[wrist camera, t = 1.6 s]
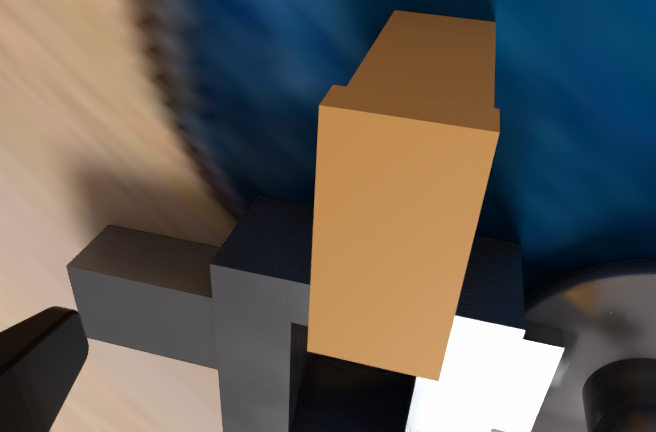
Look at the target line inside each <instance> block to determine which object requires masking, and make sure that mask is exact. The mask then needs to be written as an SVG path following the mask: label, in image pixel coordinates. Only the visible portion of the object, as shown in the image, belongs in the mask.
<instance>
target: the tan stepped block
mask: <svg viewBox="0 0 656 432" xmlns="http://www.w3.org/2000/svg"><path fill="white" fill-rule="evenodd" d="M495 31H496V22H491V21H482V20H474V19H465V18H457V17H449V16H440V15H432V14H423V13H415V12H407V11H398V10H395V11H394V12H393V14H392V15H391V17H390V18H389V20H388V22H387V23H386V25H385V26H384V28H383V30H382V31H381V33H380V34H379V36H378V37H377V39H376V41H375V42H374V44H373V45H372V47H371V49H370V50H369V52H368V53H367V55H366V56H365V58H364V60H363V61H362V63H361V64H360V66H359V68H358V69H357V71H356V72H355V74H354V75H353V77H352V79H351V80H350V82H349V83H348V85H347V86H346V87H345V86H338V85H333V86H332V87H331V89H330V90H329V91H328V93H327V94H326V96H325V97H324V99H323V100H322V102H321V103H320V104H319V118H318V138H317V159H316V179H315V200H314V221H313V241H312V262H311V282H310V303H309V323H308V344H307V351H309V352H313V353H317V354H322V355H326V356H330V357H335V358H339V359H343V360H348V361H352V362H356V363H361V364H365V365H369V366H374V367H378V368H382V369H387V370H391V371H395V372H400V373H404V374H408V375H413V376H417V377H421V378H426V379H430V380H435V381H439V378H440V374H441V370H442V366H443V362H444V358H445V354H446V350H447V345H448V341H449V337H450V333H451V329H452V325H453V321H454V317H455V313H456V309H457V305H458V300H459V296H460V292H461V288H462V284H463V280H464V276H465V272H466V268H467V264H468V260H469V256H470V251H471V247H472V243H473V239H474V235H475V231H476V227H477V223H478V219H479V215H480V211H481V206H482V202H483V198H484V194H485V190H486V186H487V182H488V178H489V174H490V170H491V166H492V161H493V157H494V153H495V149H496V145H497V141H498V137H499V133H500V109H497V108H494V80H495Z"/></svg>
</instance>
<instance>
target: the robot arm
mask: <svg viewBox="0 0 656 432" xmlns="http://www.w3.org/2000/svg"><path fill="white" fill-rule="evenodd" d="M88 350H89V345H88V341H87V337H86V333H85V329H84V326H83V322H82V318H81V316H80V314H79V313H78V312H77V311H76V310H72V309H68V308H63V307H58V306H54V307H50V308H48V309H46V310H44V311H42V312H40V313H38V314H36V315H34V316H32V317H30V318H28V319H26V320H24V321H22V322H20V323H18V324H16V325H14V326H12V327H10V328H8V329H6V330H4V331H2V332H0V432H49V430H50V429H51V427H52V425H53V423H54V421H55V419H56V417H57V415H58V413H59V411H60V409H61V407H62V405H63V403H64V401H65V400H66V398H67V396H68V394H69V392H70V390H71V388H72V386H73V384H74V382H75V380H76V378H77V376H78V374H79V372H80V370H81V369H82V367H83V365H84V363H85V361H86V358H87V355H88Z"/></svg>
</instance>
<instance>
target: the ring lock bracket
mask: <svg viewBox="0 0 656 432" xmlns="http://www.w3.org/2000/svg"><path fill="white" fill-rule="evenodd" d="M313 221H314V205H310V204H304V203H299V202H294V201H288V200H283V199H277V198H272V197H266V196H261V195H257V196H256V198H255V199H254V201H253V202H252V204H251V205H250V207H249V208H248V209H247V211H246V212H245V214H244V215H243V217H242V218H241V220H240V221H239V222H238V224H237V225H236V227H235V228H234V230H233V231H232V233H231V234H230V235H229V237H228V238H227V240H226V241H225V243H224V244H223V246H222V247H221V248H219V247H214V246H209V245H204V244H199V243H195V242H190V241H185V240H180V239H175V238H170V237H165V236H160V235H155V234H150V233H146V232H141V231H136V230H131V229H126V228H121V227H116V226H111V225H108V226H107V227H106V228H105V229H104V230H103V231H102V232H101V233H100V234H98V235H97V236H96V237H95V238H94V239H93V240H92V241H91V242H90V243H89V244H88V245H87V246H86V247H85V248H84V249H83V250H82V251H81V252H80V253H79V254H78V255H77V256H76V257H75V258H74V259H73V260H72V261H71V262H70V263H69V264H68V265H67V266H66V267H67V271H68V275H69V278H70V282H71V286H72V290H73V294H74V298H75V302H76V305H77V309H78V313H79V314H80V316H81V318H82V322H83V326H84V329H85V333H86V337H87V338H90V339H95V340H99V341H103V342H107V343H111V344H115V345H119V346H123V347H127V348H131V349H136V350H140V351H144V352H148V353H152V354H156V355H160V356H164V357H168V358H172V359H176V360H181V361H185V362H189V363H193V364H197V365H201V366H205V367H209V368H213V369H217V370H218V374H219V387H220V400H221V412H222V425H223V432H490V431H491V428H495V429H499V430H503V431H507V432H656V259H630V260H619V261H612V262H606V263H599V264H595V265H592V266H588V267H584V268H580V269H577V270H574V271H571V272H569V273H566V274H563V275H560V276H558V277H556V278H554V279H552V280H550V281H548V282H546V283H544V284H542V285H540V286H539V287H537V288H536V289H534V290H533V291H531V292H530V293H528V294H527V295H525V296H524V292H523V274H522V255H521V243H516V242H511V241H505V240H500V239H494V238H489V237H483V236H478V235H474V239H473V243H472V247H471V251H470V256H469V260H468V264H467V268H466V272H465V276H464V280H463V284H462V288H461V292H460V296H459V300H458V305H457V309H456V313H455V317H454V321H453V325H452V329H451V333H450V337H449V341H448V345H447V350H446V354H445V358H444V362H443V366H442V370H441V374H440V378H439V381H435V380H430V379H426V378H421V377H417V376H413V377H412V378H410V377H405V376H401V375H397V374H392V373H388V372H384V371H379V370H375V369H371V368H367V367H362V366H358V365H354V364H349V363H345V362H341V361H336V360H332V359H328V358H323V357H319V356H318V354H317V353H313V352H309V351H307V344H308V323H309V303H310V282H311V262H312V241H313Z"/></svg>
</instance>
